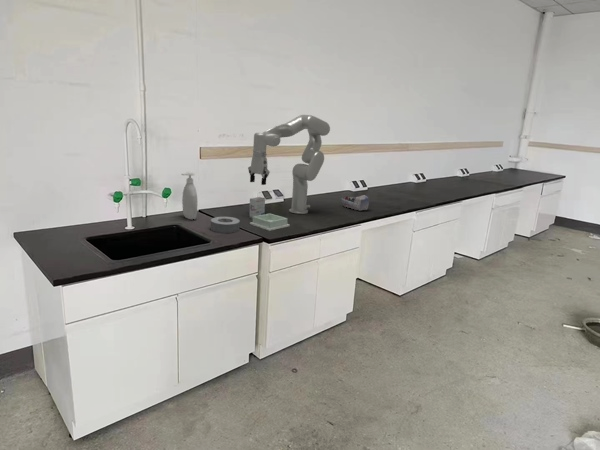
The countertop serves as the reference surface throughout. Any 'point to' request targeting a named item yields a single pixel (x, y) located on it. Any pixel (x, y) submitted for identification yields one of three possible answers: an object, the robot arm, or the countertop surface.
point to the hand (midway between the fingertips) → (257, 183)
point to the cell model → (356, 202)
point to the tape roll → (225, 224)
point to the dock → (269, 222)
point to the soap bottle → (189, 198)
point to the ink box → (257, 206)
